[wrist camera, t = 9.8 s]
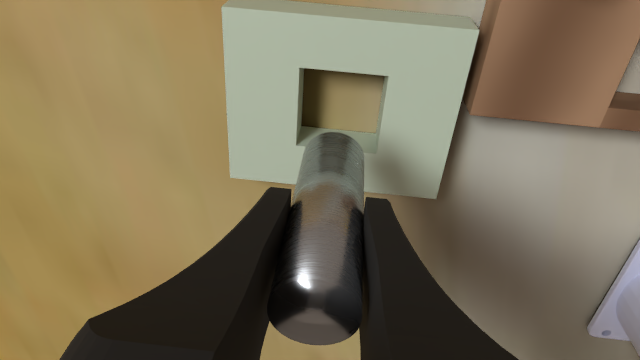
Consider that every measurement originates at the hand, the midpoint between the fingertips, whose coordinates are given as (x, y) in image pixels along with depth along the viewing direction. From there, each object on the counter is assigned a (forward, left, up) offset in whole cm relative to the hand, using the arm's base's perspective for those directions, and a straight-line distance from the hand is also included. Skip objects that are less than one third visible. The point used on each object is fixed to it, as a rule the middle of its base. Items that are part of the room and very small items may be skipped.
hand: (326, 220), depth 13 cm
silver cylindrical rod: (0, 0, -3) cm, 3 cm away
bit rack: (0, 0, -10) cm, 10 cm away
